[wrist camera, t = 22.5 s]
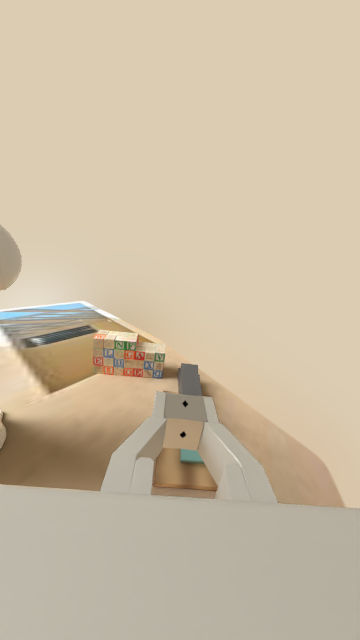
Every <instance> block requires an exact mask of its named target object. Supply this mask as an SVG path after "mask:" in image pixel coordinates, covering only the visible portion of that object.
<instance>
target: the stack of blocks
mask: <svg viewBox="0 0 360 640" xmlns="http://www.w3.org/2000/svg"><path fill="white" fill-rule="evenodd" d="M138 335H139V334H137V333H127V332H115V331H106V330H100V331H99V332H98V333H97V334H96V335H95V336H94V337H93V364H94V365H93V371H94V373H99V374H109V375H121V376H123V375H124V376H138V377H149V378H162V374H163V368H164V359H165V344H156V343H145V342H138Z"/></svg>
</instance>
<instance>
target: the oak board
mask: <svg viewBox="0 0 360 640" xmlns="http://www.w3.org/2000/svg"><path fill="white" fill-rule="evenodd" d="M163 392H165V393H166V392H168V393H175V394H179V393H178V392H169V391H163ZM202 396H205V397H212V396H207V395H202ZM180 453H181V449H177V448H163V449H162V450H161V452H160V454H159V455H158V457H157V459H156V469H155V479H154V486H158V487H172V488H186V489H200V490H214V491H217V489H218V486H217V484H216V482H215V481H214V479H213V477H212V476H211V474H210V472H209V470H208V469H207V467H206V465H205V464H202V463H189V462H180Z"/></svg>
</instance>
